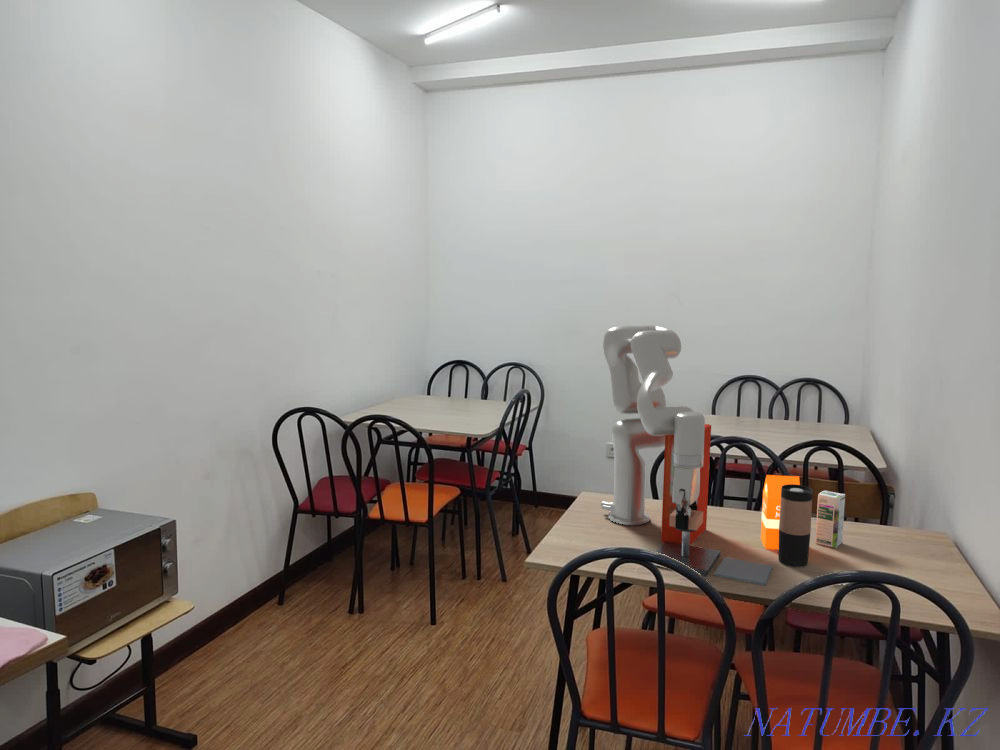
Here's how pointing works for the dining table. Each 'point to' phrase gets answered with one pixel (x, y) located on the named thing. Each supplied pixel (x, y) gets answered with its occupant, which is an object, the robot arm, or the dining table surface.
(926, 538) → the dining table surface
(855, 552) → the dining table surface
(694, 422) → the robot arm
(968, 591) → the dining table surface
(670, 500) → the file binder
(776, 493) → the orange juice
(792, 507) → the travel mug
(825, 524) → the syrup box
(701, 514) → the collar
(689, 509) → the stand
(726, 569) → the mat
